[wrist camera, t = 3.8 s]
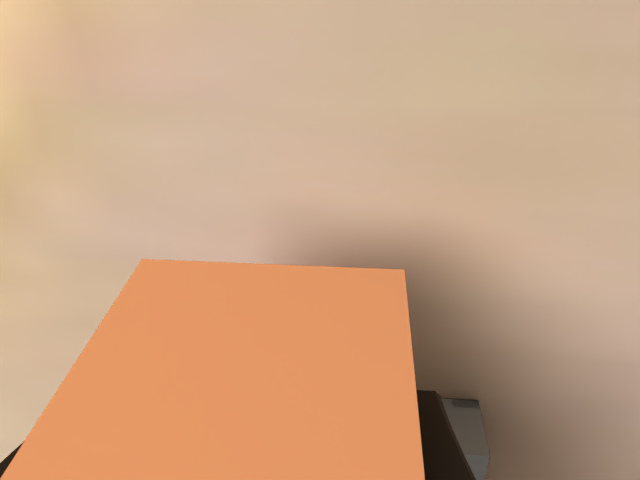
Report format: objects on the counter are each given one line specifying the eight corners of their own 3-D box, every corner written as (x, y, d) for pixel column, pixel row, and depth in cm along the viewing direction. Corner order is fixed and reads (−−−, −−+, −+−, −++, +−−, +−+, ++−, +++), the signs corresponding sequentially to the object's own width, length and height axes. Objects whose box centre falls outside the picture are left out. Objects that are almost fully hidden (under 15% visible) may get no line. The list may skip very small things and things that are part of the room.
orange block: (404, 269, 10) (430, 533, 6) (388, 446, 13) (397, 717, 8) (142, 259, 10) (-14, 500, 6) (178, 433, 13) (86, 688, 9)
